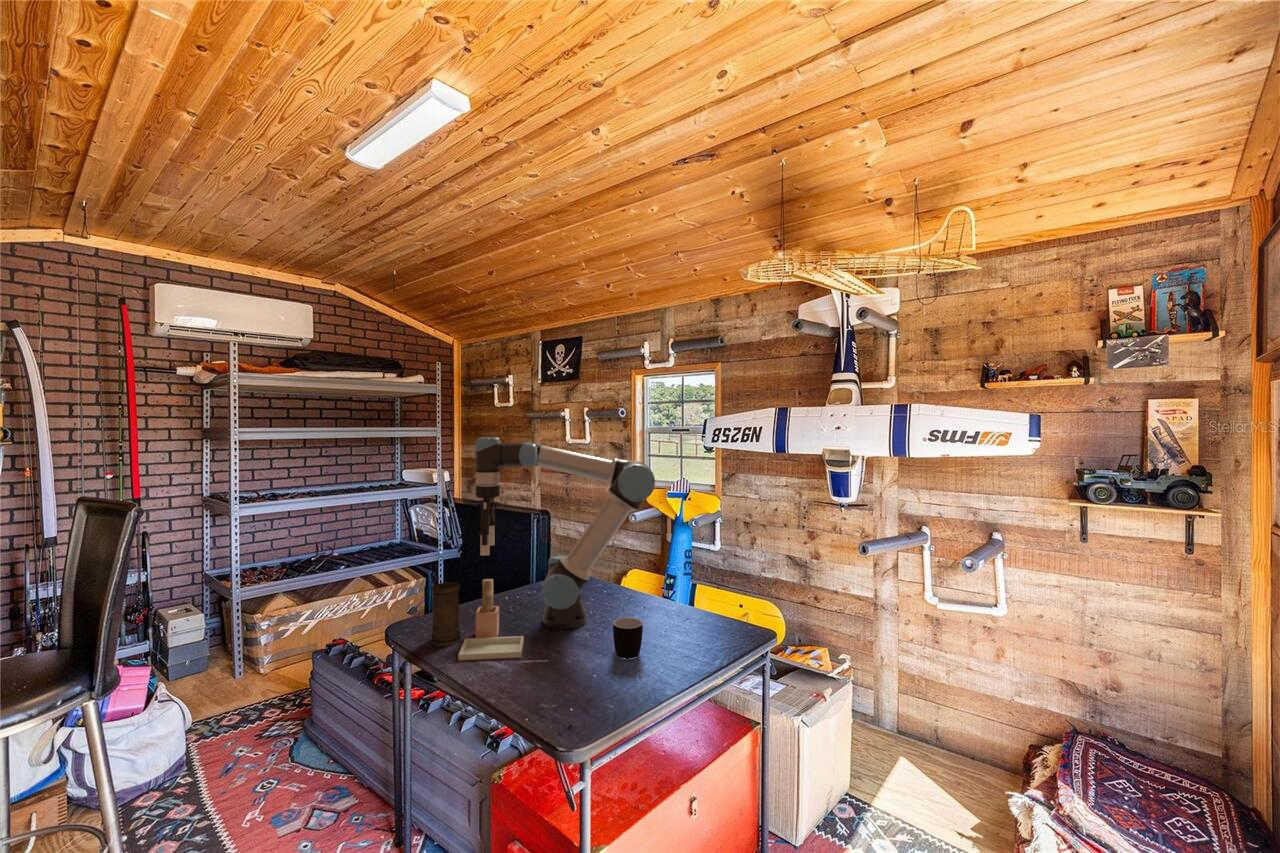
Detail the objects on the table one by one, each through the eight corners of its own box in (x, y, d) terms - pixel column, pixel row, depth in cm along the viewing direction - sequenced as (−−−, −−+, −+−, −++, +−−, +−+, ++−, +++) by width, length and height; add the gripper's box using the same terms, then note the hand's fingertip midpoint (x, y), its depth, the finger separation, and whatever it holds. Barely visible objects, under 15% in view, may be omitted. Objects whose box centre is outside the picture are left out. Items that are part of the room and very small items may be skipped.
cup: (498, 632, 185) (499, 605, 184) (496, 640, 178) (496, 612, 178) (478, 633, 184) (478, 606, 184) (475, 641, 177) (475, 613, 177)
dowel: (493, 633, 183) (493, 578, 183) (492, 637, 179) (492, 581, 179) (482, 633, 182) (483, 579, 182) (481, 637, 179) (481, 582, 179)
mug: (648, 657, 167) (648, 624, 167) (623, 665, 162) (623, 630, 162) (626, 644, 177) (626, 612, 176) (602, 650, 172) (602, 618, 171)
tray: (523, 642, 177) (523, 636, 177) (521, 659, 165) (521, 651, 165) (465, 645, 174) (465, 638, 174) (458, 662, 162) (458, 654, 162)
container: (451, 648, 172) (451, 590, 171) (425, 646, 173) (425, 588, 173) (466, 637, 180) (466, 582, 180) (441, 635, 182) (441, 580, 182)
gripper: (481, 480, 192) (481, 541, 192) (469, 489, 167) (469, 560, 168) (503, 480, 193) (503, 541, 193) (495, 489, 168) (495, 559, 169)
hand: (487, 550), depth 180 cm, fingers open, 13 cm apart
